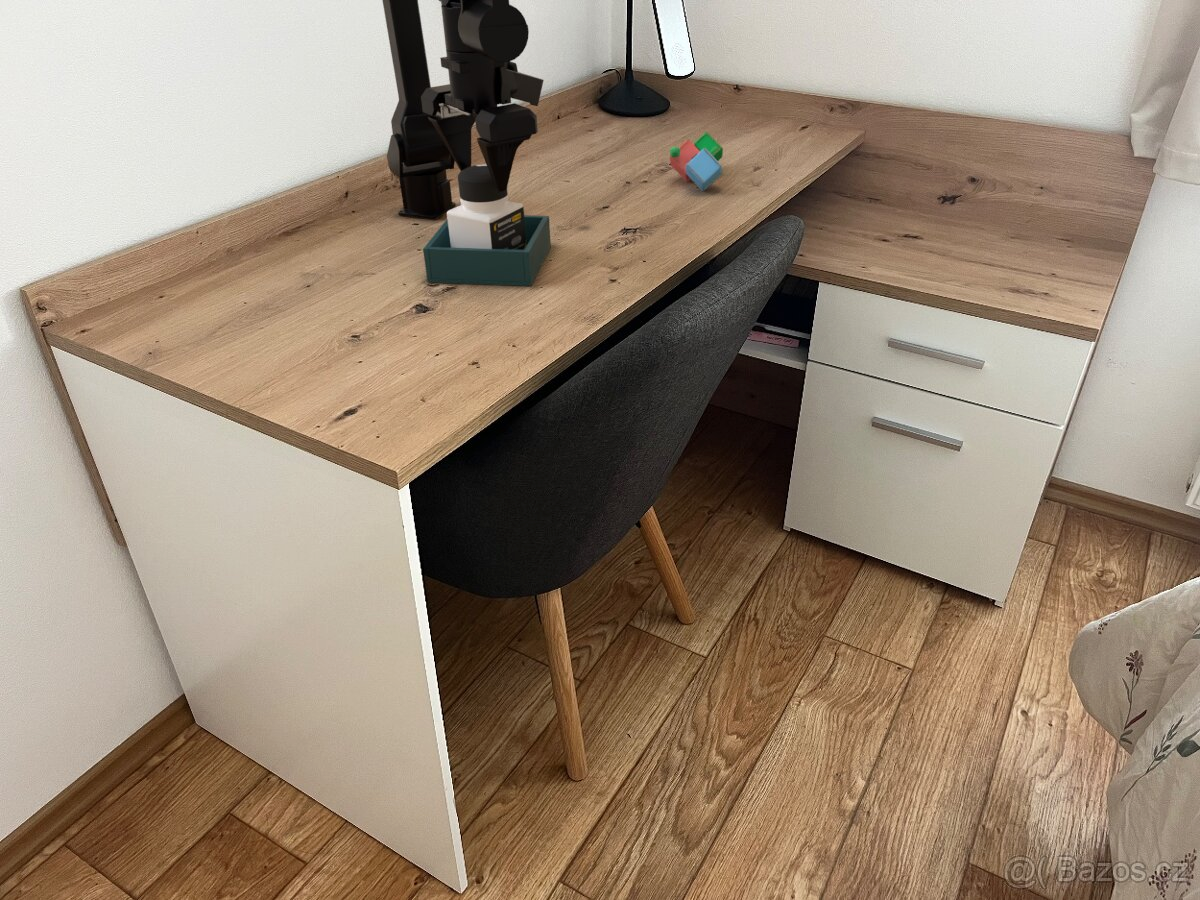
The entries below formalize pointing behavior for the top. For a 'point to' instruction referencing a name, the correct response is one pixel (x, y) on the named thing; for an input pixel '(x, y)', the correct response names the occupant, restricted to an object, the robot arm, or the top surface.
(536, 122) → the robot arm
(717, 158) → the building blocks
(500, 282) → the desk bin
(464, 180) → the medicine bottle
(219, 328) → the top surface
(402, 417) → the top surface
